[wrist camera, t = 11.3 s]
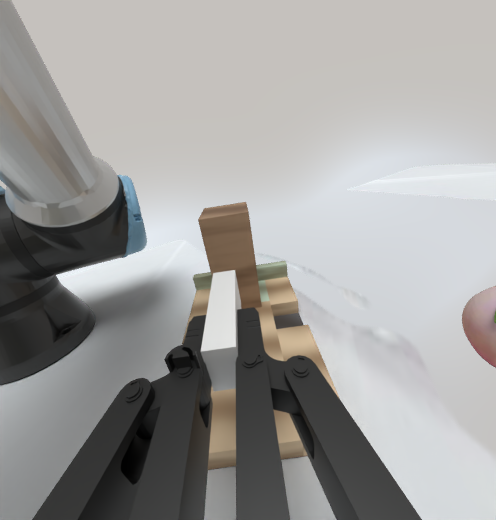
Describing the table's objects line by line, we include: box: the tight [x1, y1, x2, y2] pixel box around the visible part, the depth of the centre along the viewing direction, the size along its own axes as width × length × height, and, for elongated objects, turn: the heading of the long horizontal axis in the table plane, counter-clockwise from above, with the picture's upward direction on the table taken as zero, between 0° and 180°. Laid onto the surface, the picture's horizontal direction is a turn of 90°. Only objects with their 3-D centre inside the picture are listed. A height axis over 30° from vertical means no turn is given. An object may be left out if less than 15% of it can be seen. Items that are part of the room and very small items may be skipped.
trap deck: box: [182, 261, 339, 470], centre depth 29 cm, size 25×16×5 cm, turn 4°
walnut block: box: [198, 202, 262, 309], centre depth 32 cm, size 6×6×14 cm
